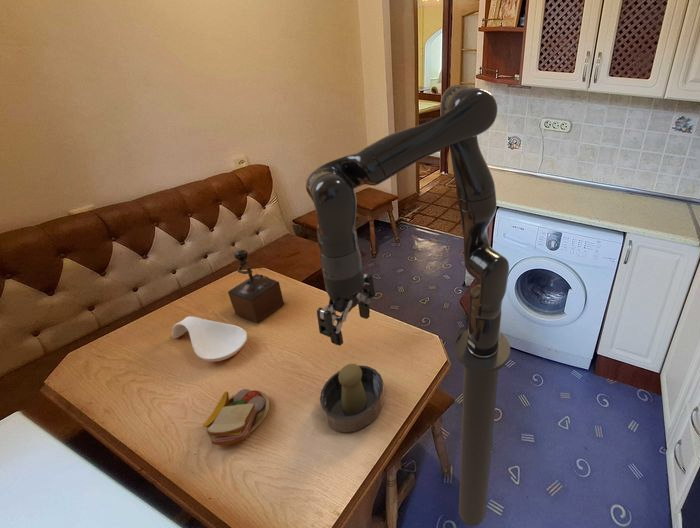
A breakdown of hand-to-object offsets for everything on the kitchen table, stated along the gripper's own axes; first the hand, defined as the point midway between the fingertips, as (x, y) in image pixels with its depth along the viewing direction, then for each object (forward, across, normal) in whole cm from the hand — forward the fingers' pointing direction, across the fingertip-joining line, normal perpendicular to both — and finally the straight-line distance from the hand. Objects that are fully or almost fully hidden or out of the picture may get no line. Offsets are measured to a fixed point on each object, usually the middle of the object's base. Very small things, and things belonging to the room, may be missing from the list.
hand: (352, 329), depth 77 cm
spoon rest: (+23, -4, +51) cm, 56 cm away
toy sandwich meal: (+23, -16, +22) cm, 36 cm away
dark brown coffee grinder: (+23, +12, +54) cm, 60 cm away
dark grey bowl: (+23, -1, +2) cm, 23 cm away
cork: (+23, -1, +2) cm, 23 cm away
